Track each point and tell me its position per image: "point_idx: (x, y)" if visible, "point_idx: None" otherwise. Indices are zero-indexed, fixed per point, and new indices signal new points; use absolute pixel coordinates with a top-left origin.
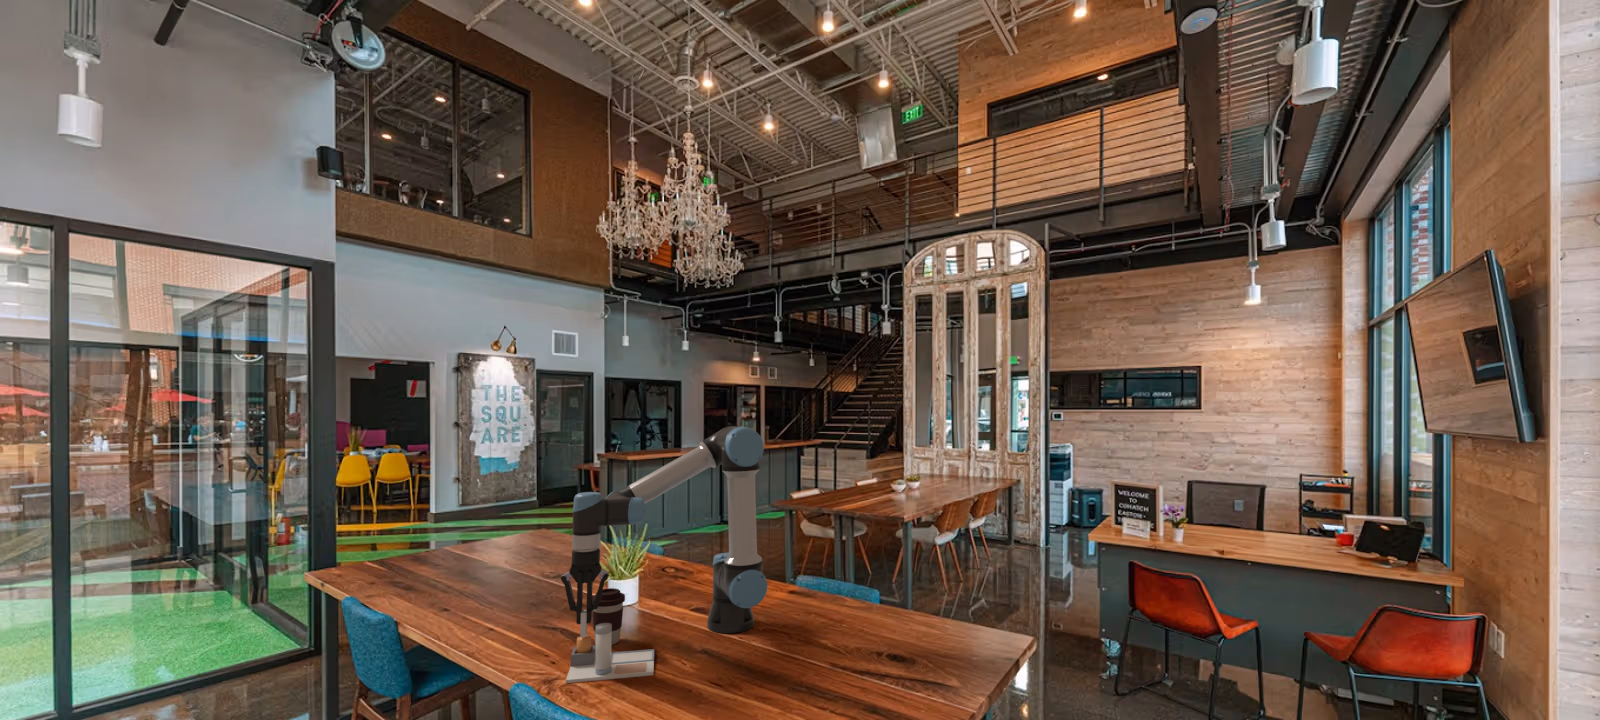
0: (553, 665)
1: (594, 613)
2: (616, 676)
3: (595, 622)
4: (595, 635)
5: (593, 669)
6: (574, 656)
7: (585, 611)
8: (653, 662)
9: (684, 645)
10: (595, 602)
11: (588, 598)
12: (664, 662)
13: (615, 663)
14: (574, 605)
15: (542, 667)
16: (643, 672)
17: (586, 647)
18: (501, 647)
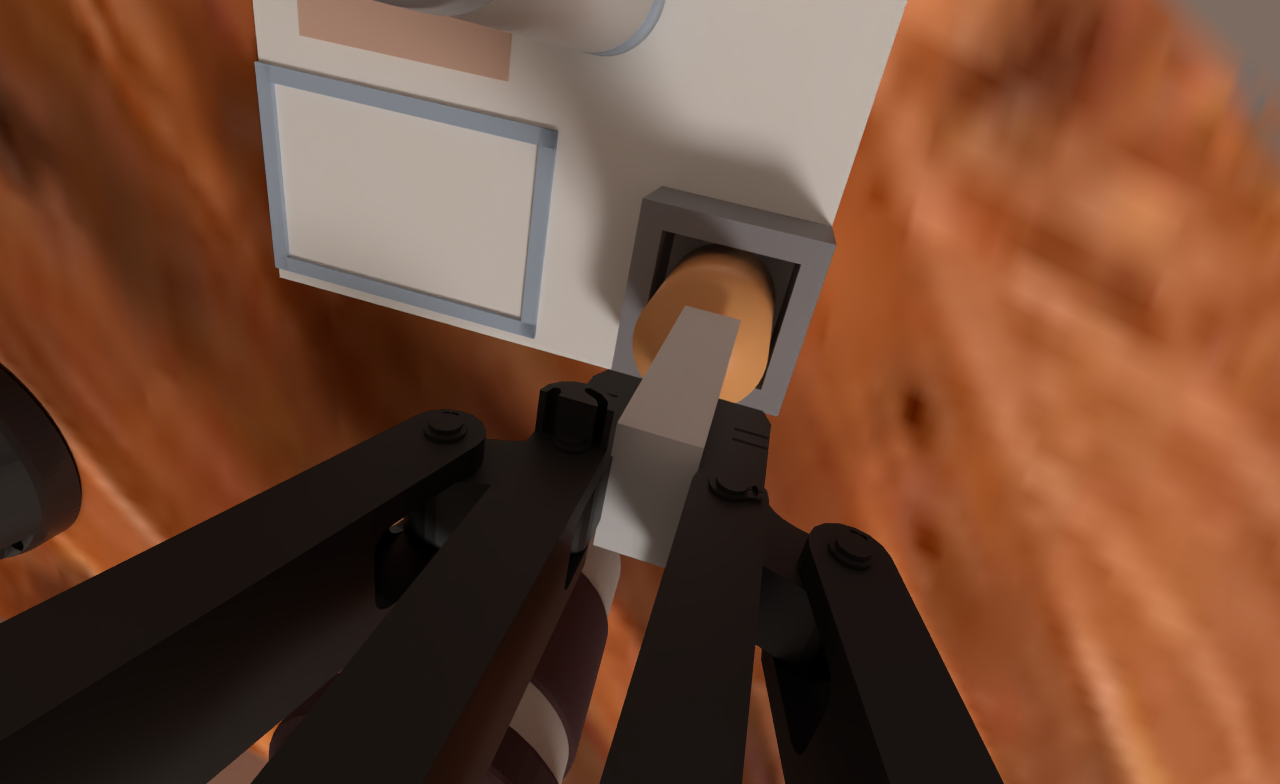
0: (928, 361)
1: (564, 700)
2: None
3: (579, 635)
4: (605, 577)
5: (674, 79)
6: (804, 235)
7: (627, 485)
8: (257, 26)
9: (142, 288)
10: (401, 475)
11: (490, 582)
12: (212, 57)
13: (509, 121)
14: (792, 622)
15: (1012, 363)
16: None
17: (693, 265)
18: (1154, 781)
